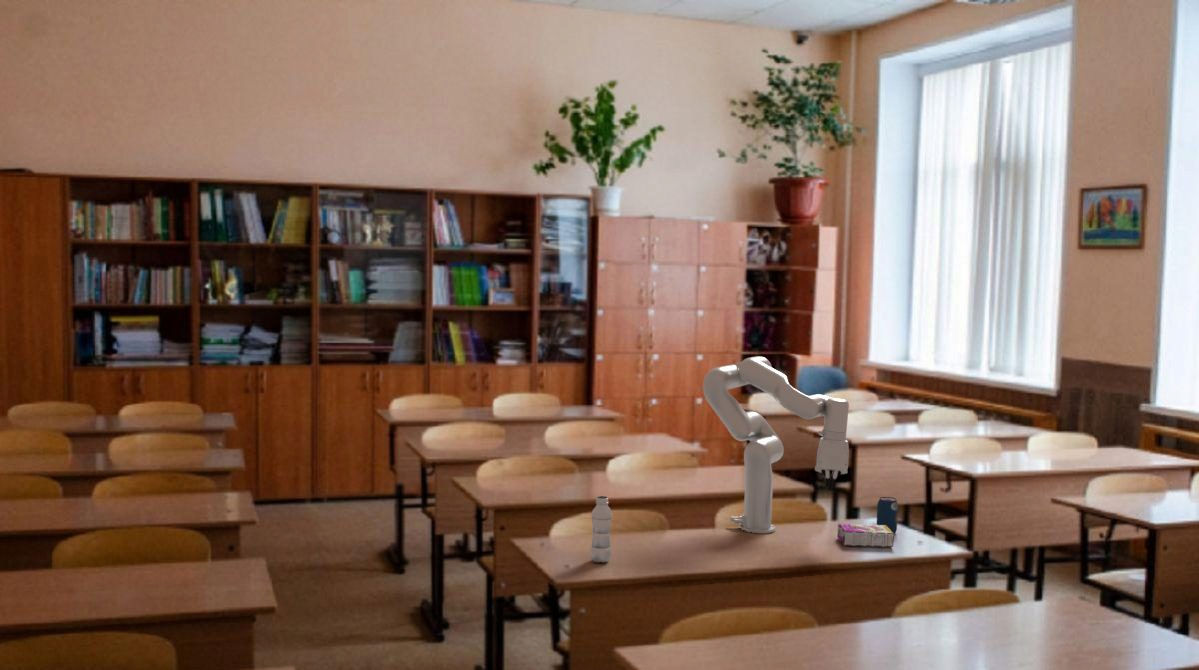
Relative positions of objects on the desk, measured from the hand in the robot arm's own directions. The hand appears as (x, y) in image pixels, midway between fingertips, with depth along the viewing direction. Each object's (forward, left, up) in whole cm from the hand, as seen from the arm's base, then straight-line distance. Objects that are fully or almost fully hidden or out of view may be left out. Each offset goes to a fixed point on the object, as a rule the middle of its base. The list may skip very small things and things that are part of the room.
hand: (829, 489), depth 356 cm
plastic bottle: (-74, -34, -18) cm, 84 cm away
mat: (+13, +2, -18) cm, 22 cm away
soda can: (+23, +16, -18) cm, 33 cm away
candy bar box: (+4, 0, -15) cm, 15 cm away
